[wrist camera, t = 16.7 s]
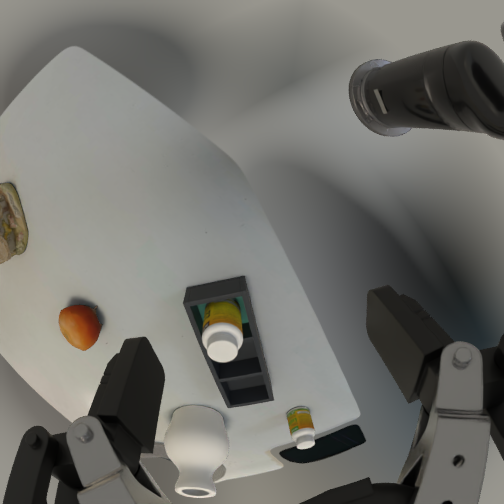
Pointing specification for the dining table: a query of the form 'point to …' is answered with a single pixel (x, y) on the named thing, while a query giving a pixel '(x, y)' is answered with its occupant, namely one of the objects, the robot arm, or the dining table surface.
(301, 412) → the supplement bottle
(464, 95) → the robot arm
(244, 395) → the rack
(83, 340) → the fruit
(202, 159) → the dining table surface
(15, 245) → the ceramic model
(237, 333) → the supplement bottle
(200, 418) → the vase
